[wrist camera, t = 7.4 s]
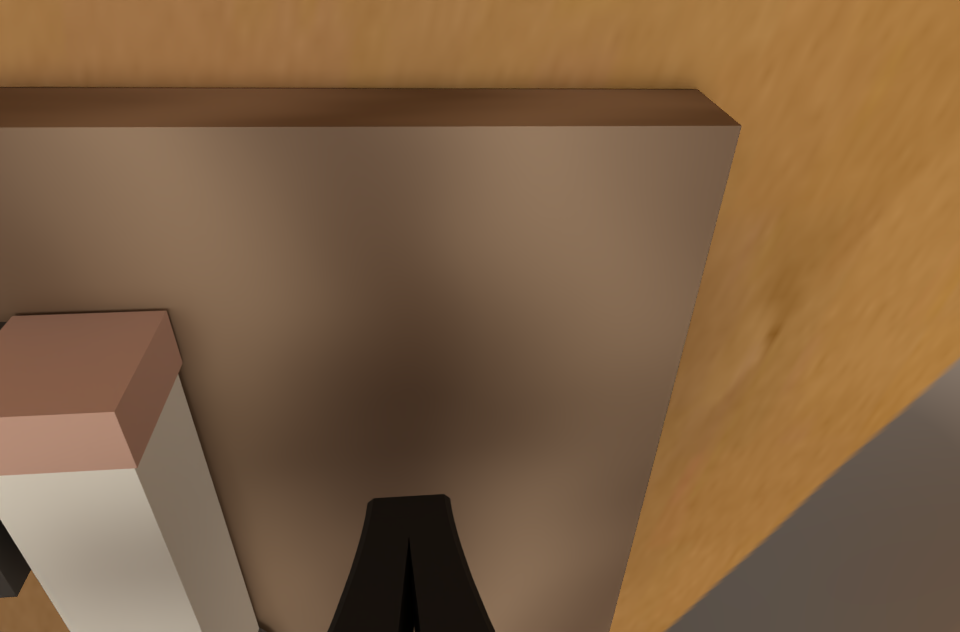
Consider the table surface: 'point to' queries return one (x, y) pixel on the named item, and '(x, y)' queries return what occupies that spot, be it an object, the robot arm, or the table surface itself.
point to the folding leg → (112, 477)
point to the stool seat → (388, 309)
